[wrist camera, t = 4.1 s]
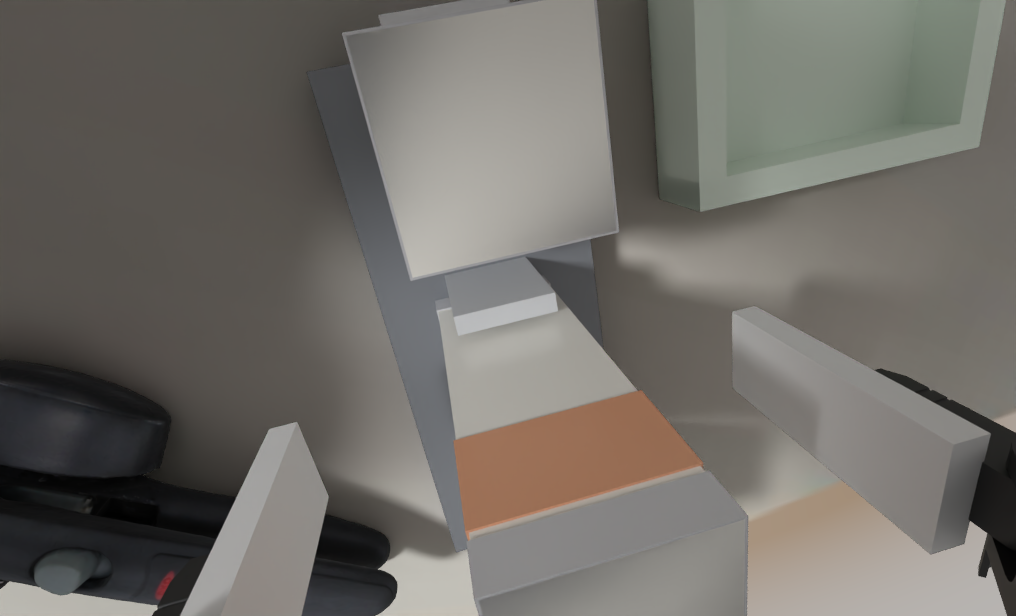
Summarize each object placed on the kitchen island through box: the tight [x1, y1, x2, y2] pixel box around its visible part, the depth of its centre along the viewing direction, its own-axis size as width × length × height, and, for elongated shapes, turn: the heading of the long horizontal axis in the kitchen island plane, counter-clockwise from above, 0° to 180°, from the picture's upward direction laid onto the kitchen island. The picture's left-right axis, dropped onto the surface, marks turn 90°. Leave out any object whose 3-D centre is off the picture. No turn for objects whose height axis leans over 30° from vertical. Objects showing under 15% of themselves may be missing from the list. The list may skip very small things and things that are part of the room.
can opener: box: [0, 359, 397, 616], centre depth 18 cm, size 18×7×6 cm, turn 55°
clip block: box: [307, 0, 604, 552], centre depth 18 cm, size 8×21×6 cm, turn 10°
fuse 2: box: [435, 275, 748, 616], centre depth 13 cm, size 4×4×12 cm
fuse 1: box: [342, 0, 619, 281], centre depth 12 cm, size 4×4×8 cm
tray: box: [647, 0, 1006, 212], centre depth 17 cm, size 11×11×3 cm
